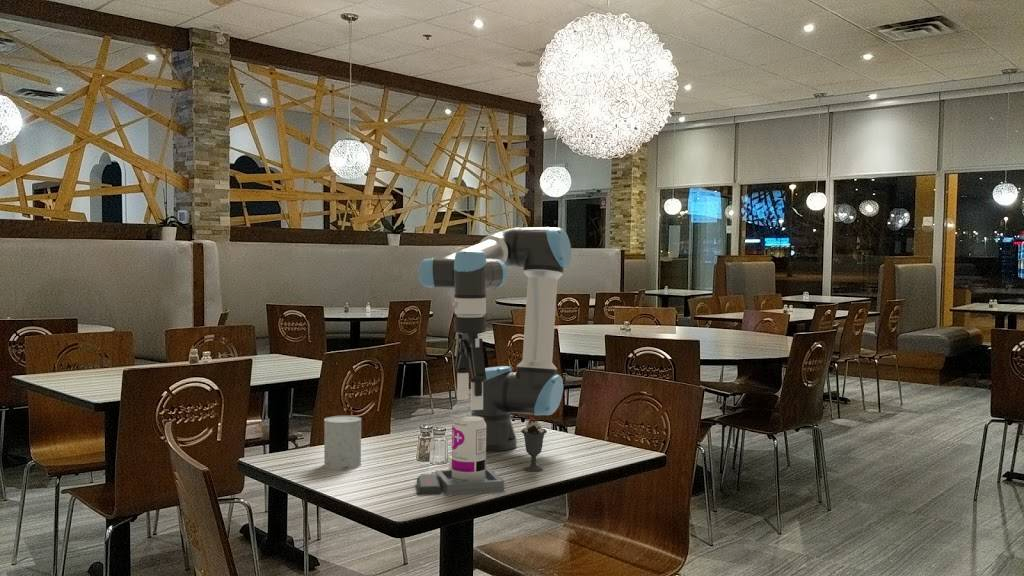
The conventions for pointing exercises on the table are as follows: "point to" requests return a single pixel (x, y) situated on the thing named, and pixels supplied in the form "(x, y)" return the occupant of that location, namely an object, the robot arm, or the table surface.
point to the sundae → (533, 442)
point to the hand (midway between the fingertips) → (469, 404)
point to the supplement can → (468, 449)
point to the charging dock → (452, 488)
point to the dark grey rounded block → (428, 484)
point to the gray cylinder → (342, 442)
